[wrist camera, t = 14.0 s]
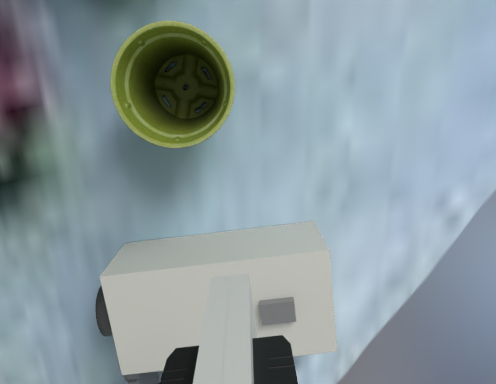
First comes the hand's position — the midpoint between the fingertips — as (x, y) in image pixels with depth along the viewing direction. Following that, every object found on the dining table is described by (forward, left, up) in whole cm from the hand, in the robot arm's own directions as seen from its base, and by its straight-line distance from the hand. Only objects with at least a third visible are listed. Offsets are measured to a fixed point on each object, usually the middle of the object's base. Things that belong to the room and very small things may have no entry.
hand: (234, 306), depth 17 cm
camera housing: (-3, -11, -26) cm, 29 cm away
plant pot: (-4, +9, -27) cm, 28 cm away
